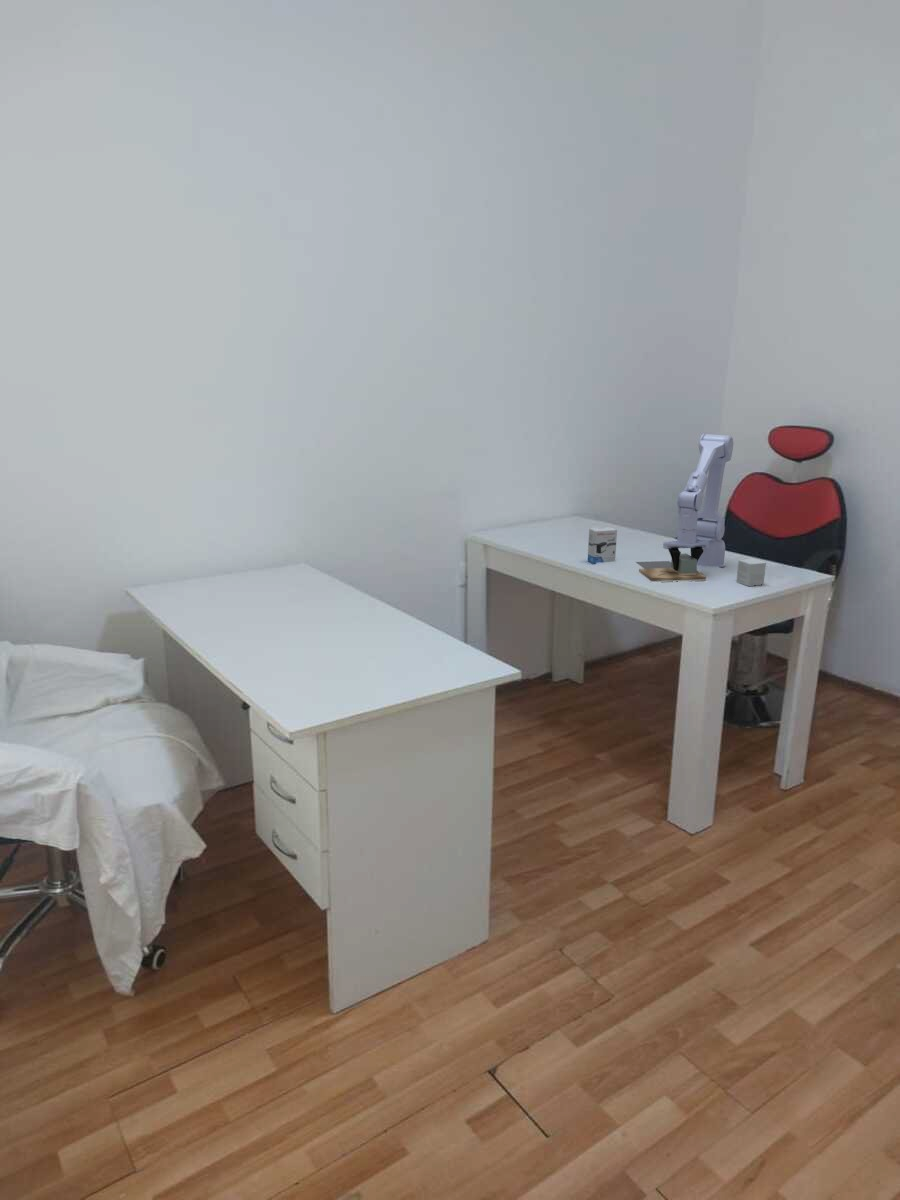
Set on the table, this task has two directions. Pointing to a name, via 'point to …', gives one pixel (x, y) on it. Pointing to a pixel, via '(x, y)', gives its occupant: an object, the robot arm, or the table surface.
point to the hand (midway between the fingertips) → (684, 569)
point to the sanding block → (686, 565)
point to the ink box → (602, 544)
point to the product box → (751, 572)
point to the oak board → (669, 575)
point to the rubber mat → (655, 564)
